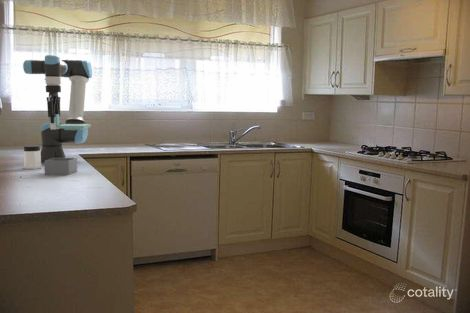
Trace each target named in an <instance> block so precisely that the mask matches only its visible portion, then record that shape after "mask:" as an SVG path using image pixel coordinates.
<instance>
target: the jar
mask: <svg viewBox="0 0 470 313" xmlns="http://www.w3.org/2000/svg"><path fill="white" fill-rule="evenodd" d="M22 152H23V169H26V170H36V169H41V168H42V161H41V145H39V144H38V145H34V144H33V145H30V144H28V145H23V151H22Z"/></svg>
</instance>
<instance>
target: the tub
mask: <svg viewBox="0 0 470 313" xmlns="http://www.w3.org/2000/svg"><path fill="white" fill-rule="evenodd" d="M43 162H44V175H47V176H49V175H51V176H61V175H62V176H70V175H72V174H75V173H77V171H78V158H77V157H66V158H51V159H48V160H45V161H43Z"/></svg>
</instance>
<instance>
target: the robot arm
mask: <svg viewBox="0 0 470 313" xmlns="http://www.w3.org/2000/svg"><path fill="white" fill-rule="evenodd" d="M22 68H23V72H24V73H25V74H26V75H27V74H28V75H45V78H44V81H45V84H46V85H45V93H48V97H46V105H47V117H48V118H49V117H50V121H49V122H46V123H42V124H41V125H40V128H41V129H40V137H41V148H40V151H41V162H44V161H45V160H48V159H51V158H67V157H66V153H65V152H64V149H63V144H83V143H85V142H86V140H87V138H88V135H89V128H85V129H84V130H65V129H64V128H56V117H55V114H59V118H60V117H61V97H60V96H59V93H61V92H62V86H61V84H62V82H61V78H66V79H67V78H68V80H69V81H70V94H69V95H70V96H69V107H68V118H67V119H65V122H64V123H62V121H59V123H60V125H64V124H86V120H84V114H85V113H84V110H85V100H86V98H85V96H86V84H88V82H89V81H90V80H89V79H91V78H92V77H93V68H92V64H91V62H90V60H89V59H87V58H61V59H60V56H59V55H55V54H46V55H45V56H44V60H43V59H27V60H26V59H25V60H24V61H23V63H22ZM49 125H50V128H49Z"/></svg>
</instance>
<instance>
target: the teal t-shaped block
mask: <svg viewBox="0 0 470 313" xmlns="http://www.w3.org/2000/svg"><path fill="white" fill-rule="evenodd" d="M55 117H56V128H64V129H65V130H84V129H85V128H88V129H89V128H91V127H92V124H89V123H87V124H86V123H85V124H65V123H63V124H64V125H60V123H59V122H60V117H59V114H55ZM48 118H49V120H48V121H49V122H50V117H48ZM49 128H50V125H49Z"/></svg>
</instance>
